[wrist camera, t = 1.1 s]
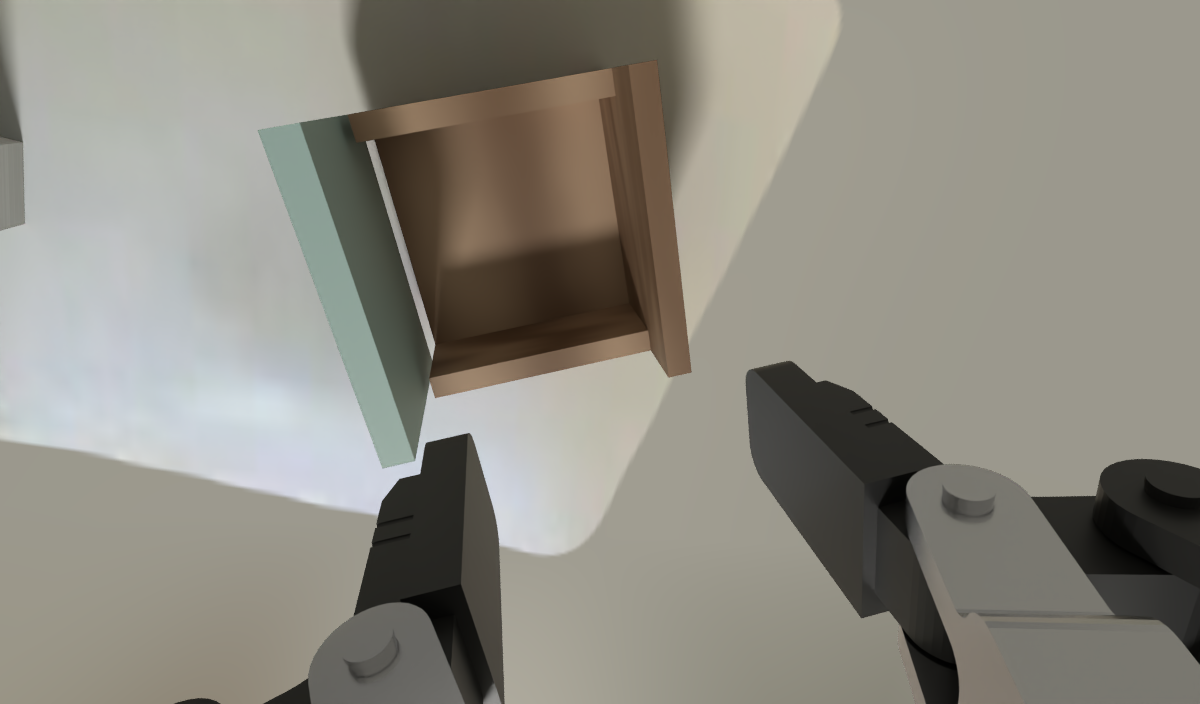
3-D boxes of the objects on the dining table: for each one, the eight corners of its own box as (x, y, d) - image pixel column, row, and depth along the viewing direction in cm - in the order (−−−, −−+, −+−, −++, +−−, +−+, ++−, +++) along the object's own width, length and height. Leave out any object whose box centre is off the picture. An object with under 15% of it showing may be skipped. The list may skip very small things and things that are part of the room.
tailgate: (410, 364, 32) (382, 468, 23) (331, 117, 27) (257, 130, 18) (433, 359, 32) (414, 461, 23) (359, 112, 27) (299, 122, 18)
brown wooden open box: (444, 340, 34) (430, 431, 25) (377, 109, 29) (329, 117, 20) (637, 299, 35) (691, 372, 26) (604, 69, 30) (657, 59, 21)
